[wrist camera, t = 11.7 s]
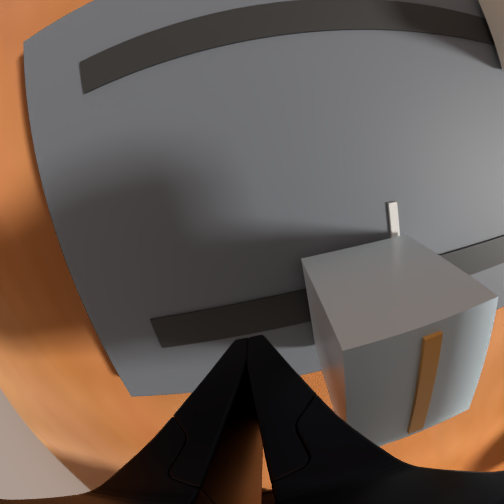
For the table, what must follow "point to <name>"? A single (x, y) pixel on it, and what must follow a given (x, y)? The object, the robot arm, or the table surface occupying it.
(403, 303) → the block
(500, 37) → the fader
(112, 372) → the table surface
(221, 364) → the robot arm
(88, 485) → the table surface
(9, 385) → the table surface
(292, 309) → the console
